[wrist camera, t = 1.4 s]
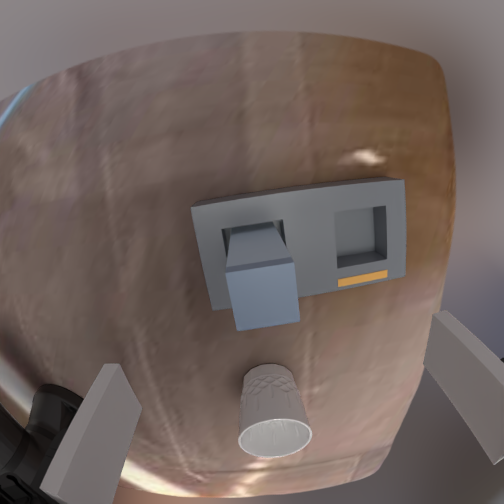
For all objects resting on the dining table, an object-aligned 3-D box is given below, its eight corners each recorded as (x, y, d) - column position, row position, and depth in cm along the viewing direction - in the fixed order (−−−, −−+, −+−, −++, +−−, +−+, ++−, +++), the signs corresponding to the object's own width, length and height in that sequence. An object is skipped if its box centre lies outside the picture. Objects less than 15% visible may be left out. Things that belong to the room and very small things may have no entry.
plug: (238, 266, 29) (237, 331, 18) (231, 228, 28) (225, 273, 17) (277, 260, 29) (299, 321, 18) (272, 221, 28) (294, 262, 17)
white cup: (242, 356, 34) (243, 417, 24) (304, 361, 35) (321, 418, 25) (234, 399, 36) (234, 456, 27) (290, 402, 37) (301, 457, 27)
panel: (215, 293, 31) (212, 311, 27) (197, 201, 28) (190, 207, 24) (388, 263, 31) (405, 276, 27) (385, 176, 28) (404, 179, 24)
